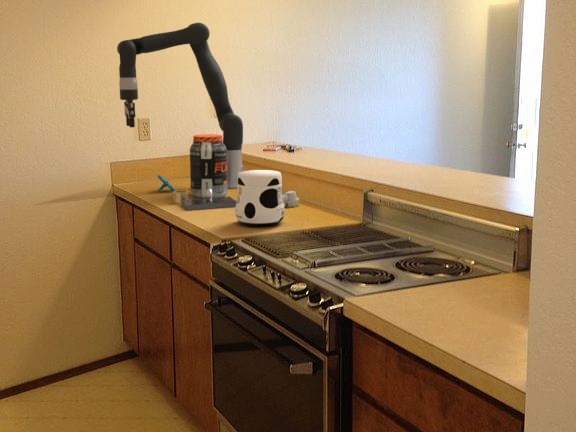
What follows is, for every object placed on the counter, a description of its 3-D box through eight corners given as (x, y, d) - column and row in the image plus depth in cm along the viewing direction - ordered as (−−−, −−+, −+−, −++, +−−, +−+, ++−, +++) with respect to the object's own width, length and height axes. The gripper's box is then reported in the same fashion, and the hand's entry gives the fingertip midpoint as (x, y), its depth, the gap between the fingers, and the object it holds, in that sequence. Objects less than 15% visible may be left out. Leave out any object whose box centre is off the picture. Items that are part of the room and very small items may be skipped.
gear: (174, 189, 310) (157, 173, 309) (165, 199, 310) (148, 183, 309) (177, 188, 321) (161, 173, 320) (168, 198, 321) (152, 182, 320)
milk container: (229, 220, 255) (227, 171, 251) (273, 216, 262) (273, 168, 258) (245, 230, 239) (244, 178, 236) (292, 226, 246) (292, 174, 242)
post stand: (229, 201, 291) (229, 185, 290) (237, 206, 280) (237, 190, 279) (181, 204, 284) (180, 188, 283) (187, 210, 273) (187, 193, 272)
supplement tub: (217, 199, 294) (215, 137, 289) (184, 197, 300) (182, 136, 295) (233, 193, 309) (232, 134, 303) (202, 191, 315) (200, 133, 309)
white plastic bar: (239, 202, 270) (292, 186, 283) (241, 218, 272) (294, 202, 285) (246, 204, 266) (300, 188, 278) (248, 221, 268) (302, 204, 280)
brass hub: (187, 200, 293) (186, 189, 292) (190, 203, 287) (190, 192, 286) (171, 201, 291) (171, 190, 290) (175, 204, 285) (174, 193, 284)
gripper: (140, 88, 296) (142, 127, 299) (134, 87, 309) (136, 125, 312) (121, 89, 293) (124, 128, 297) (117, 88, 306) (119, 125, 310)
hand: (130, 126), depth 305 cm, fingers open, 8 cm apart
